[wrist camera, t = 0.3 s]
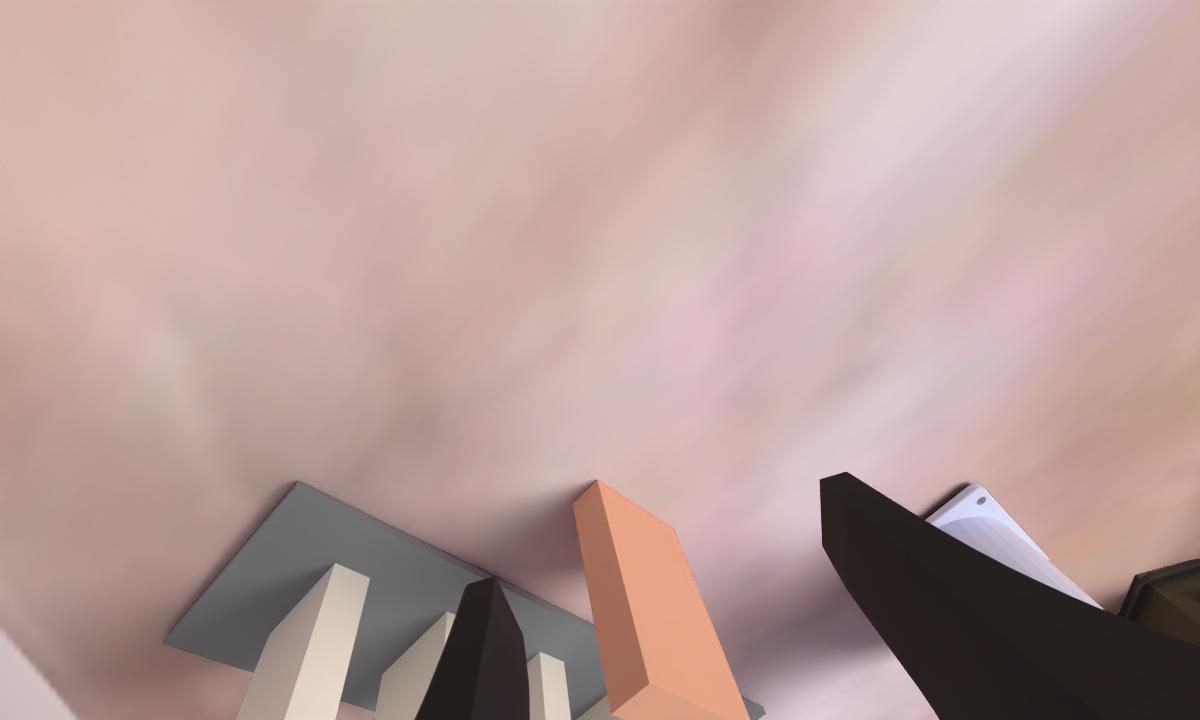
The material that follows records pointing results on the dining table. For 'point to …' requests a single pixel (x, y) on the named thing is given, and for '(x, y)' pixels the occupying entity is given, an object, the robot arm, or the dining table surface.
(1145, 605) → the diary
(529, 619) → the slate mat
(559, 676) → the domino
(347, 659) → the domino
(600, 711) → the domino
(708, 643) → the terracotta domino
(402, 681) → the domino
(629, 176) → the dining table surface
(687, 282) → the dining table surface
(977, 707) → the robot arm
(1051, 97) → the dining table surface
